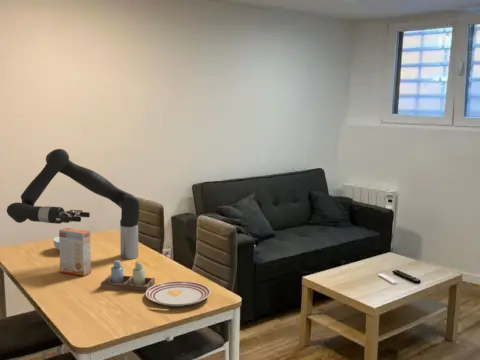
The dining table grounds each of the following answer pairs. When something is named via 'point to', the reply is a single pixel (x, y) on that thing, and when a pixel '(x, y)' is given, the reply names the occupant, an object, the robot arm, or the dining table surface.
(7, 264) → the dining table surface
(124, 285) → the caddy
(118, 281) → the blue bottle
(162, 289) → the dinner plate
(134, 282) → the green bottle
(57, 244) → the cereal bowl
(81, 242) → the cracker box
